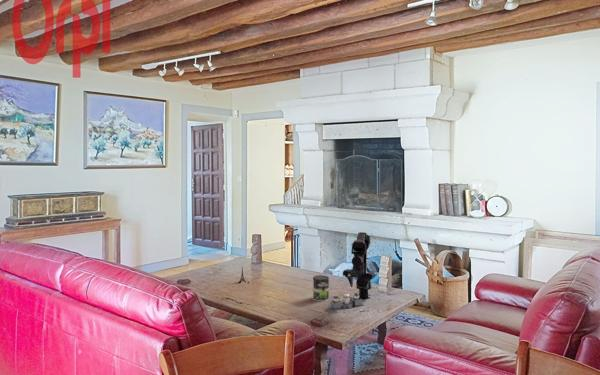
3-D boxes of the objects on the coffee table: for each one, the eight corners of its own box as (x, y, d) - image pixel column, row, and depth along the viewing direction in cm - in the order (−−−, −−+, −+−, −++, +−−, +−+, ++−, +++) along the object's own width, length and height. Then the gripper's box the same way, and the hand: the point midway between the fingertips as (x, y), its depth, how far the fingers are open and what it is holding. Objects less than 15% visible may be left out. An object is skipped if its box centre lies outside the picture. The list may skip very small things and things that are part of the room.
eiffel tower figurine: (240, 287, 324) (240, 268, 323) (230, 284, 330) (230, 266, 329) (254, 282, 336) (254, 264, 335) (244, 280, 342) (244, 262, 341)
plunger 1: (332, 303, 276) (332, 296, 276) (337, 302, 277) (337, 295, 277) (334, 304, 273) (334, 297, 273) (339, 304, 274) (339, 297, 274)
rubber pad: (325, 311, 270) (325, 310, 270) (334, 310, 272) (334, 309, 272) (329, 314, 265) (329, 313, 265) (338, 313, 267) (338, 312, 267)
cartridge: (342, 305, 279) (342, 294, 279) (347, 304, 280) (347, 293, 280) (345, 307, 276) (345, 296, 275) (350, 306, 277) (350, 295, 277)
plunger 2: (353, 300, 281) (353, 293, 281) (357, 299, 282) (357, 293, 282) (355, 301, 278) (355, 295, 278) (360, 301, 280) (360, 294, 279)
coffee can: (331, 300, 290) (331, 278, 289) (315, 302, 287) (315, 280, 286) (326, 295, 300) (325, 274, 299) (311, 297, 297) (310, 276, 296)
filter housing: (327, 306, 278) (327, 300, 278) (358, 302, 286) (358, 295, 286) (333, 311, 270) (333, 304, 270) (365, 306, 278) (365, 299, 278)
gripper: (338, 263, 268) (338, 289, 269) (368, 267, 259) (368, 294, 260) (346, 259, 278) (346, 284, 279) (375, 263, 268) (375, 289, 269)
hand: (358, 288), depth 271 cm, fingers open, 9 cm apart
